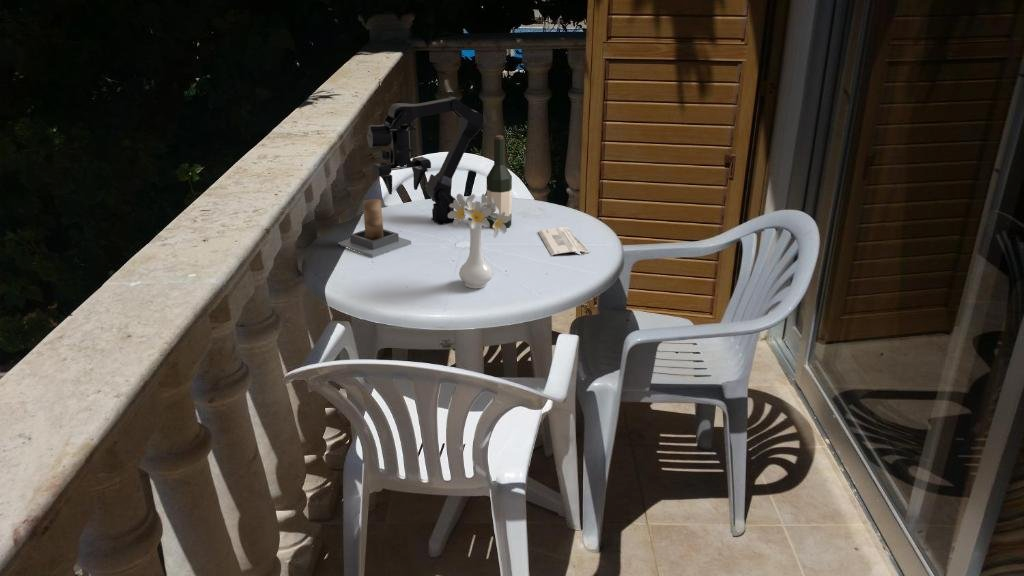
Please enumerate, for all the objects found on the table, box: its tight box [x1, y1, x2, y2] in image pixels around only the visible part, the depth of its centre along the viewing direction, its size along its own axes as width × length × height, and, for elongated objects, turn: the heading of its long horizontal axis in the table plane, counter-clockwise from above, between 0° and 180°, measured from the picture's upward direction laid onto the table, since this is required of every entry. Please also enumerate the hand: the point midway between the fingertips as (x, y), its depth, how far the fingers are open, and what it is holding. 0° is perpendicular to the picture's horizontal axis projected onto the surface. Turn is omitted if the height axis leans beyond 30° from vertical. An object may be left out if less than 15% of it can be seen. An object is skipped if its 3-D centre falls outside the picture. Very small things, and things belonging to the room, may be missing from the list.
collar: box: [337, 228, 412, 258], centre depth 252 cm, size 16×16×4 cm
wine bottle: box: [486, 134, 513, 230], centre depth 266 cm, size 8×8×30 cm
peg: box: [362, 198, 384, 241], centre depth 250 cm, size 6×6×13 cm
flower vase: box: [448, 193, 513, 290], centre depth 220 cm, size 13×18×25 cm
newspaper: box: [537, 226, 591, 257], centre depth 257 cm, size 23×12×2 cm, turn 9°
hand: (403, 191), depth 264 cm, fingers open, 9 cm apart
